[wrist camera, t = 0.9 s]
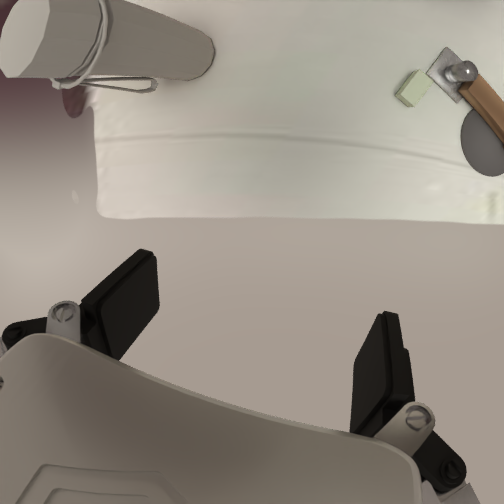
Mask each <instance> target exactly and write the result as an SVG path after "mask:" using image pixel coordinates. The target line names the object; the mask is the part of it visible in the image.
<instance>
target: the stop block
mask: <svg viewBox="0 0 504 504" xmlns="http://www.w3.org/2000/svg"><path fill="white" fill-rule="evenodd" d="M433 82H434V81H433V80H431V79H430V78H429V77H428V76H427V75H426V74H425V73H424V72H422V71H421V70H420V69H419V70H417V71H414V72H413V73H412V74H411V75H410V77H409V78H408V79H407V81H406V82H405V83H404V84H403V86H402V87H401V88H400V90H399V91H398V92H397V94H396V95H395V96H396V97H397V98H398V99H399V100H401V101H402V102H403V103H404V104H405V105H406V106H408V107H415V106H416V104H417V103H418V102H419V100H420V99H421V98H422V97H423V95H424V94H425V93H426V91H427V90H428V89H429V87H430V86H431V85H432V83H433Z"/></svg>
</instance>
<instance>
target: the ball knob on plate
mask: <svg viewBox="0 0 504 504" xmlns="http://www.w3.org/2000/svg"><path fill="white" fill-rule="evenodd" d="M426 75H428V76H429V77H430V78H431V79H432V80H433V81H434V82H435V83H436V84H437V85H438V86H440V87H441V88H442V89H443V90H444V91H445V92H446V93H447V94H448V95H449V96H450V97H451V98H452V99H453V100H454V101H455V102H456V103H458V102H459V101H460V100H461V98H462V97H463V96H462V94H461V93H460V92H459V91H458V90H459V89H460V87H461V86H462V85H463V83H464V82H467V81H474V80H476V79H477V77H478V70H477V67H476V66H475V65H474V64H473V63H472V62H470V61H462V60H461V59H460V58H459V57H458V56H457V55H456V54H455V53H453V52H452V51H451V50H450V49H449V48H448V47H445V49H444V50H443V51H442V53H441V54H440V56H439V57H438V58H437V60H436V61H435V62H434V64H433V65H432V66H431V68H430V69H429V70H428V72H427V73H426Z"/></svg>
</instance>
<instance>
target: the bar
mask: <svg viewBox="0 0 504 504" xmlns="http://www.w3.org/2000/svg"><path fill="white" fill-rule="evenodd" d="M458 91H459V92H460V93H461V94H462V96H463V97H464V98H465V99H466V100H467V101H468V102H469V103H470V104H471V105H472V106H473V107H474V108H475V110H476V111H477V112H478V113H479V114H480V115H481V116H482V118H483V119H484V120H485V121H486V122H487V124H488V125H489V126H490V127H491V128H492V130H493V131H494V132H495V133H496V135H497V136H498V137H499V139H500V140H501V141H502V142H503V144H504V102H503V101H502V99H501V98H500V97H499V96H498V95H497V93H496V92H495V91H494V90H493V89H492V87H491V86H490V85H489V84H488V83H487V82H486V81H485V80H484V78H483V77H482V76H481V75H480V74H478V77H477V79H476V80H474V81H467V82H464V83H463V85H462V86H461V87H460V89H459V90H458ZM503 148H504V145H503Z"/></svg>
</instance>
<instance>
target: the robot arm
mask: <svg viewBox="0 0 504 504" xmlns="http://www.w3.org/2000/svg"><path fill="white" fill-rule="evenodd" d="M81 302H82V303H81V304H80V305H79V306H78V305H77V303H74V302H72V301H62V302H59V303H57V304H55V305H54V306H52V307H51V309H50V310H49V312H48V317H43V318H38V319H32V320H27V321H20V322H16V323H12V324H10V325H9V326H8V327H7V328H6V329H5V330H4V331H3V334H2V337H0V504H480V502H479V500H478V498H477V496H476V494H475V493H474V490H473V488H472V487H471V485H470V483H468V484H466V482H465V477H466V473H467V472H466V465H465V463H464V461H463V460H462V459H461V457H460V456H459V455H458V454H457V453H456V452H454V451H453V450H452V449H451V448H450V447H449V446H448V445H447V444H446V443H445V442H444V441H443V440H442V439H441V438H440V437H439V436H438V435H437V434H436V433H435V432H434V431H433V428H434V426H435V416H434V414H433V412H432V410H431V409H430V408H429V407H428V406H426V405H425V404H423V403H420V402H415V395H414V386H413V378H412V371H411V363H410V357H409V352H408V350H407V349H405V348H404V347H403V340H402V334H401V328H400V322H399V317H398V314H396V313H392V312H387V311H384V312H383V313H382V314H378V315H377V317H376V319H375V321H374V323H373V325H372V327H371V329H370V331H369V334H368V335H367V338H366V340H365V342H364V343H363V346H362V347H361V349H360V351H359V353H358V355H357V357H356V359H355V362H354V370H353V371H354V372H353V392H352V408H351V421H350V433H349V432H344V431H338V430H333V429H328V428H323V427H318V426H314V425H309V424H305V423H300V422H296V421H291V420H287V419H283V418H279V417H275V416H271V415H267V414H263V413H260V412H256V411H253V410H249V409H246V408H242V407H239V406H236V405H232V404H229V403H226V402H223V401H220V400H217V399H214V398H211V397H208V396H205V395H202V394H199V393H196V392H193V391H190V390H188V389H185V388H182V387H180V386H177V385H174V384H172V383H169V382H167V381H164V380H162V379H159V378H157V377H154V376H152V375H149V374H147V373H145V372H142V371H140V370H138V369H135V368H133V367H131V366H128V365H126V364H124V363H122V362H120V361H119V360H120V359H121V358H122V356H123V355H124V354H125V352H126V351H127V350H128V349H129V347H130V346H131V345H132V343H133V342H134V341H135V340H136V338H137V337H138V336H139V334H140V333H141V332H142V331H143V329H144V328H145V327H146V326H147V324H148V323H149V322H150V321H151V319H152V318H153V317H154V316H155V314H156V313H157V312H158V310H159V306H160V304H159V303H160V302H159V290H158V275H157V259H156V257H155V256H154V254H153V252H151V251H148V250H144V249H139V250H137V251H136V252H135V253H134V254H133V255H132V256H131V257H129V258H128V259H127V260H126V261H125V262H123V263H122V264H121V265H120V266H119V267H118V268H116V269H115V270H114V271H113V272H112V273H111V274H110V275H108V276H107V277H106V278H105V279H104V280H103V281H102V282H101V283H99V284H98V285H97V286H96V287H95V288H94V289H93V290H92V291H91V292H90V293H88V294H87V295H86V296H85V297H84V298H83V299H82V300H81Z"/></svg>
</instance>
